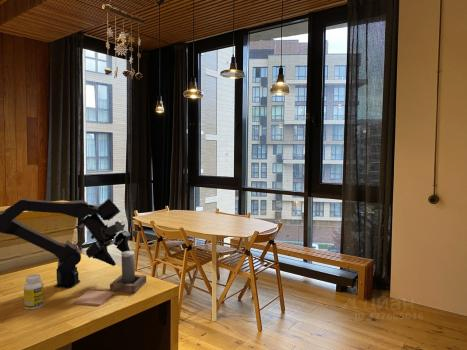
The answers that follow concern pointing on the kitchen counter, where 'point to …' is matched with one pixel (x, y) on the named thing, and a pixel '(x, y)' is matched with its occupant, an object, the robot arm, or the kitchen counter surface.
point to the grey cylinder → (128, 267)
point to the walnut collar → (130, 288)
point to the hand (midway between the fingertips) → (123, 261)
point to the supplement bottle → (33, 292)
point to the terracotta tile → (94, 297)
